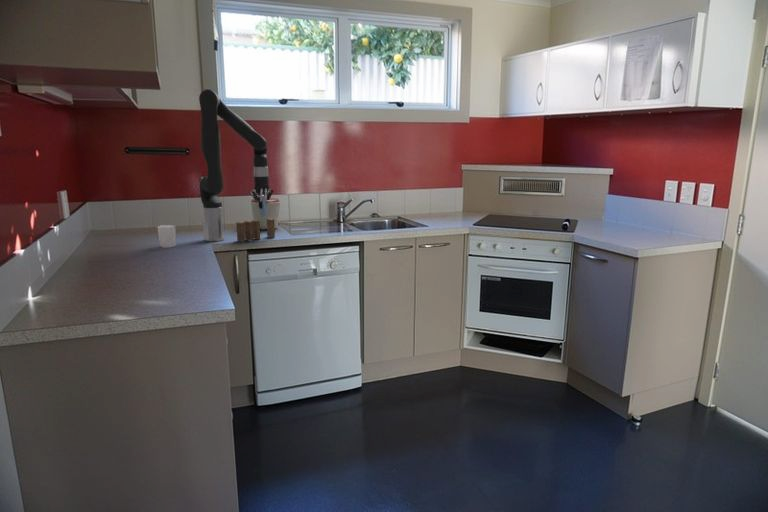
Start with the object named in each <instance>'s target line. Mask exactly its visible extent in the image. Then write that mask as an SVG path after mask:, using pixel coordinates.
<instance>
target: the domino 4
mask: <svg viewBox="0 0 768 512" xmlns="http://www.w3.org/2000/svg"><path fill="white" fill-rule="evenodd" d="M258 206H259V204H258ZM259 211H260V216H261V217H265V216H268V212H267V206H266V201H265V197H262V209H260V208H259Z"/></svg>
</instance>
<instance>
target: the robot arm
mask: <svg viewBox="0 0 768 512" xmlns="http://www.w3.org/2000/svg"><path fill="white" fill-rule="evenodd" d="M198 101H199V107H200V114H201V125H200V126H201V127H200V128H201V129H200V139H201V140H200V142H201V143H200V144H201V145H200V146H201V151H202V155H203V158H204V160H205V164H206V168H207V175H205V176H203V177H202V178H201V179H200V183H199V191H200V193H199V194H200V199H201V203H202V207H203V221H202V230H203V231H202V232H203V240H204V241H206V242H220V241H223V240H225V235H224V234H225V233H224V232H225V231H224V220H223V219H224V218H223V204H222V201H221V200H220V198H219V194H221V193H222V191H223V189H224V178H223V172H222V155H221V153H222V152H221V151H222V150H221V147H222V146H221V133H220V128H219V127H220V126H219V123H218V117H219V118H221V119H222V120H223V121H224V122H225V123H226V124H227V125H228V126H229V127H230V128H231V129H232V130H233V131H235V133H237V134H238V135H239V136H240V137H242V138H243V139H244V140H245V141H247V143H249V144H250V145H251V146H252V147H253V184H254V185H253V190H250V191H249V193H250V195H251V196H252V198H253V199H255V200H256V201H258V204H259V208H260V209H262V197H265V201H267V200H269V199H270V198H272V196H273V193H274V189H271V188H270V186H269V184H270V181H269V179H270V178H269V168H268V166H269V165H268V155H267V153H268V141H267V140H266V138H265V137H263V136H262V135H261V134H260V133H258V132H257V131H255V130H254V128H253V127H252V126H251V125H250V124H248V122H246V121H245V120H244V119H243V118H241V117H240V116H239V115H238V114H237V113H235V112H234V111H232V109H230V108H229V107H228V106H227V105H226V104H225V103H224V102H223V100H222V99H221V98H220V96H219V95H218V94H217V93H216V92H215V91H214V90H212V89H203V90H202V91H201V92H200V95H199V97H198Z"/></svg>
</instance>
